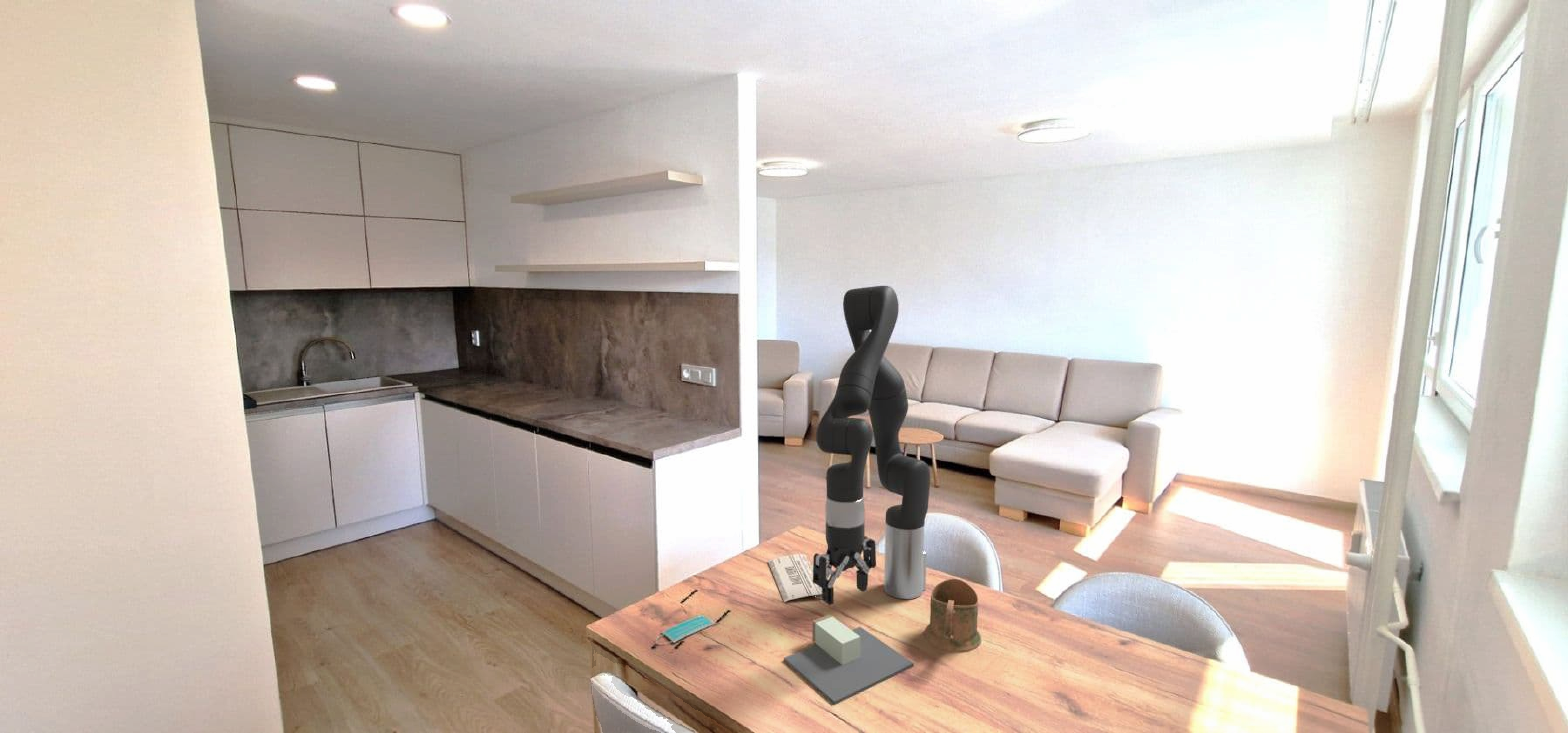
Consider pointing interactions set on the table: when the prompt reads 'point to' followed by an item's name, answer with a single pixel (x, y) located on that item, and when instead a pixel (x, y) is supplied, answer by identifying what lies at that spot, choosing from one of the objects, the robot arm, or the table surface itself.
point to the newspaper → (794, 577)
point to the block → (836, 639)
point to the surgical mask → (688, 627)
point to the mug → (953, 617)
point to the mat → (849, 667)
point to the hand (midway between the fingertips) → (845, 596)
